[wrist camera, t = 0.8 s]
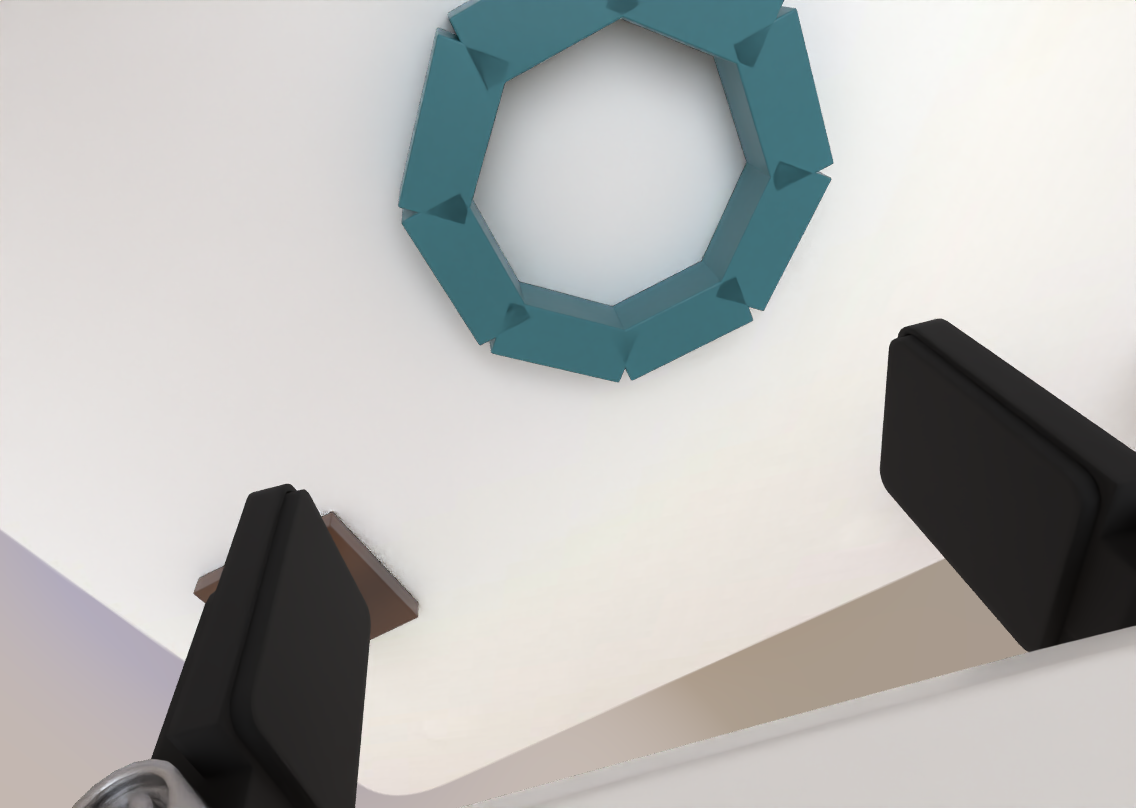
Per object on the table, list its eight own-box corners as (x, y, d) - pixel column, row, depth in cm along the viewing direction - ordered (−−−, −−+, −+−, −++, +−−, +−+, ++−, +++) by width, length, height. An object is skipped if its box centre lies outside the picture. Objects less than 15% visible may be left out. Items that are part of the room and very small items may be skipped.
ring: (326, 82, 28) (317, 93, 26) (728, -148, 26) (757, -159, 24) (526, 401, 38) (533, 430, 35) (831, 248, 36) (859, 268, 34)
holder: (198, 578, 40) (136, 743, 32) (332, 511, 39) (306, 662, 31) (297, 660, 45) (267, 823, 37) (418, 602, 44) (416, 755, 36)
